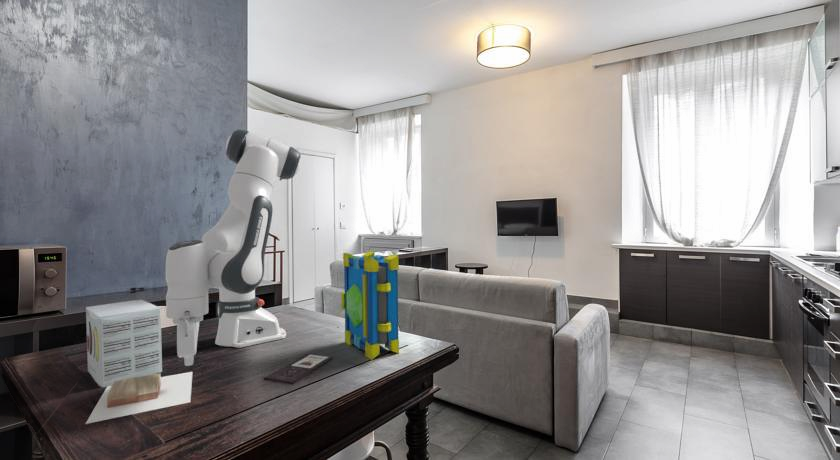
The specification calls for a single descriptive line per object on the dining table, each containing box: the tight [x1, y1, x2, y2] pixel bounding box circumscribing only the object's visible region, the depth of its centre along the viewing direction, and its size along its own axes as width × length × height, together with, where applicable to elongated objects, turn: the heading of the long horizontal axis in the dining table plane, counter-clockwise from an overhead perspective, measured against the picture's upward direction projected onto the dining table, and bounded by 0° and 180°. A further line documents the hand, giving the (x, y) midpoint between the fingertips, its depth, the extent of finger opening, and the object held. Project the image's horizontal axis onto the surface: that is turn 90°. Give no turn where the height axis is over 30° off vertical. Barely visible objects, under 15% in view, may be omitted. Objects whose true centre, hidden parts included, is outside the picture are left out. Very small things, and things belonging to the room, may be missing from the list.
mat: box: [85, 371, 193, 425], centre depth 90 cm, size 18×20×1 cm
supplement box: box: [85, 299, 163, 388], centre depth 104 cm, size 17×13×18 cm
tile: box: [107, 372, 162, 408], centre depth 89 cm, size 3×8×9 cm
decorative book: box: [340, 250, 400, 361], centre depth 122 cm, size 14×23×30 cm, turn 33°
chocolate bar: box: [263, 354, 333, 385], centre depth 106 cm, size 9×1×18 cm
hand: (189, 363), depth 94 cm, fingers closed
